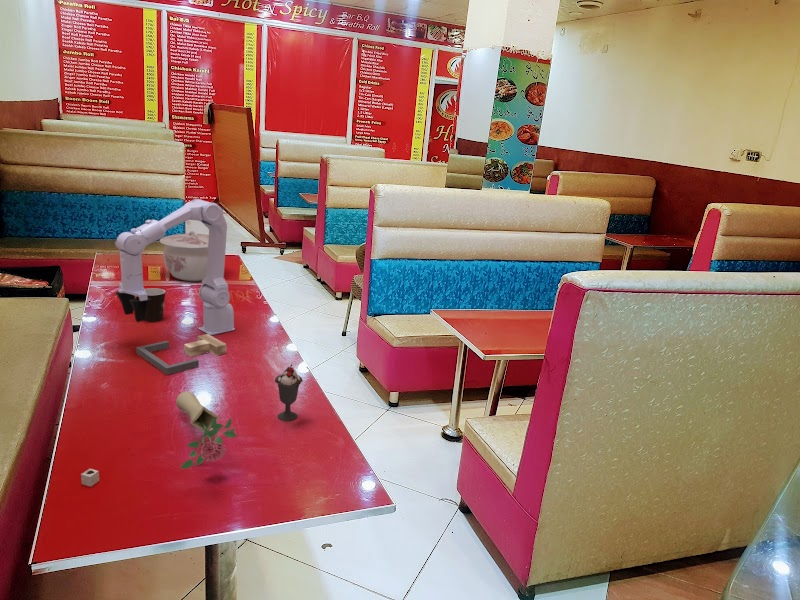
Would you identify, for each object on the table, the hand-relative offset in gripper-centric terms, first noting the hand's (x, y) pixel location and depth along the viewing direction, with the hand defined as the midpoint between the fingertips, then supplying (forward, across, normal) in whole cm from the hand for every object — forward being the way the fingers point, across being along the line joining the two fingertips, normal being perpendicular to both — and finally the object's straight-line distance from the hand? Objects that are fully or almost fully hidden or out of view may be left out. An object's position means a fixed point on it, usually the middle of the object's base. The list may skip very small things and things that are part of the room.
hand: (134, 317), depth 170 cm
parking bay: (+10, +13, +3) cm, 17 cm away
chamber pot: (+10, -64, +54) cm, 84 cm away
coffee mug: (+10, -23, +17) cm, 30 cm away
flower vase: (+10, +60, -12) cm, 62 cm away
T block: (+10, +13, +14) cm, 22 cm away
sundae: (+10, +62, +10) cm, 64 cm away
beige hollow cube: (+10, +59, -35) cm, 70 cm away
